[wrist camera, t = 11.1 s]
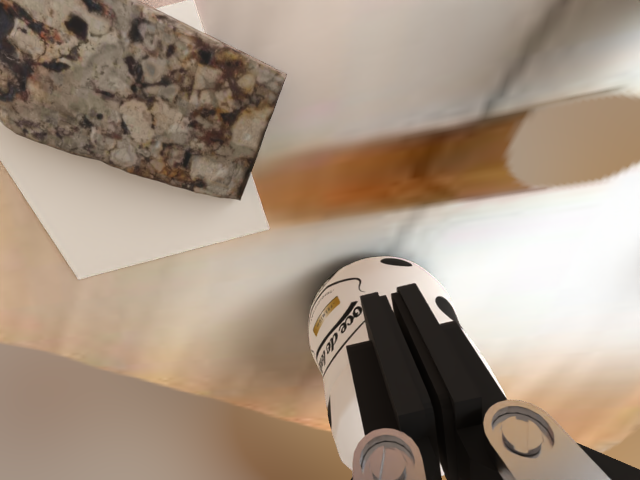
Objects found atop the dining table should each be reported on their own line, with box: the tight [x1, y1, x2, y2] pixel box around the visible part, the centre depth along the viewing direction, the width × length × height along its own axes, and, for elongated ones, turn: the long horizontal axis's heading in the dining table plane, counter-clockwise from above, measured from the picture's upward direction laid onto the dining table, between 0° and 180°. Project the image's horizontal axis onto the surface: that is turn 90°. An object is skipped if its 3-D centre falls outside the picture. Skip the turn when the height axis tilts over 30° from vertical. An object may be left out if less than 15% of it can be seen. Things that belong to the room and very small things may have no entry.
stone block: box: [0, 0, 287, 200], centre depth 30 cm, size 13×7×20 cm
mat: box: [0, 0, 270, 280], centre depth 35 cm, size 22×22×1 cm
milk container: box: [308, 256, 506, 476], centre depth 39 cm, size 17×17×18 cm
